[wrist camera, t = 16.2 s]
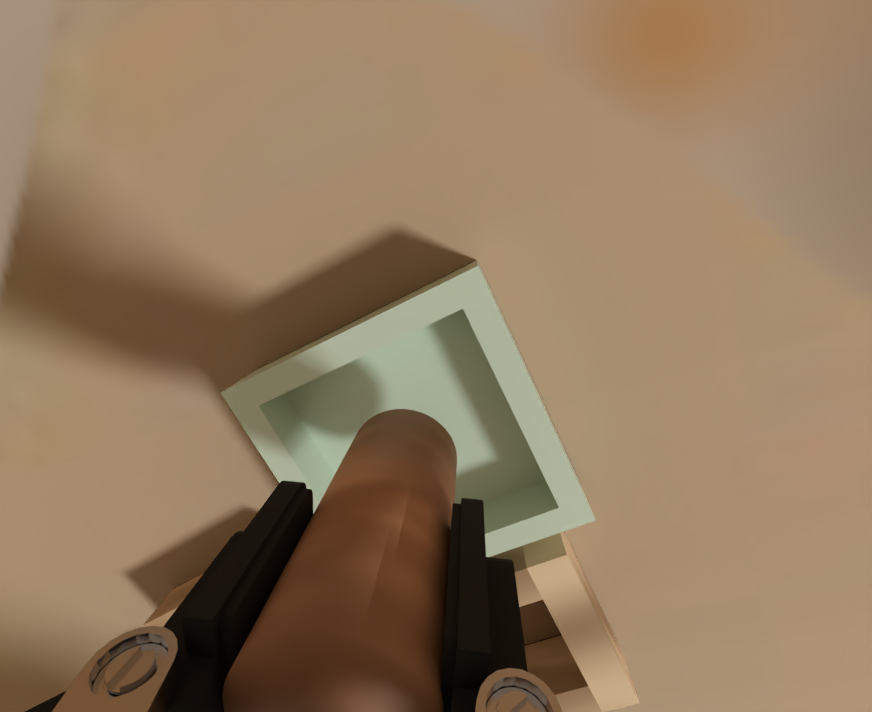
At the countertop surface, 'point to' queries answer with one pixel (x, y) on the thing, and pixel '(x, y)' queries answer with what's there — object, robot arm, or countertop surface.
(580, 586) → the socket block
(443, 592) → the dowel
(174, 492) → the countertop surface
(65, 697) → the robot arm
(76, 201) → the countertop surface
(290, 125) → the countertop surface
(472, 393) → the tray
